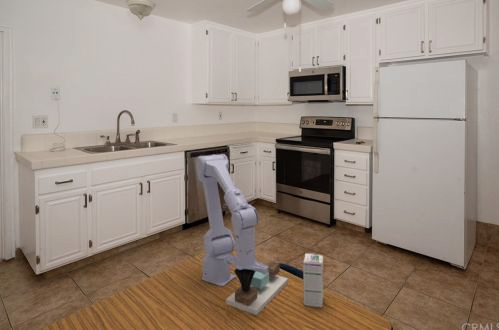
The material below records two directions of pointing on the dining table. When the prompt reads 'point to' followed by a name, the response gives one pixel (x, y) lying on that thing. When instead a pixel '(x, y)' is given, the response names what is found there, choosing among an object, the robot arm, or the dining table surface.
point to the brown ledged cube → (246, 296)
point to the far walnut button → (272, 268)
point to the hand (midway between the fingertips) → (246, 290)
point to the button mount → (261, 295)
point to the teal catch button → (259, 280)
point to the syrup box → (313, 280)
